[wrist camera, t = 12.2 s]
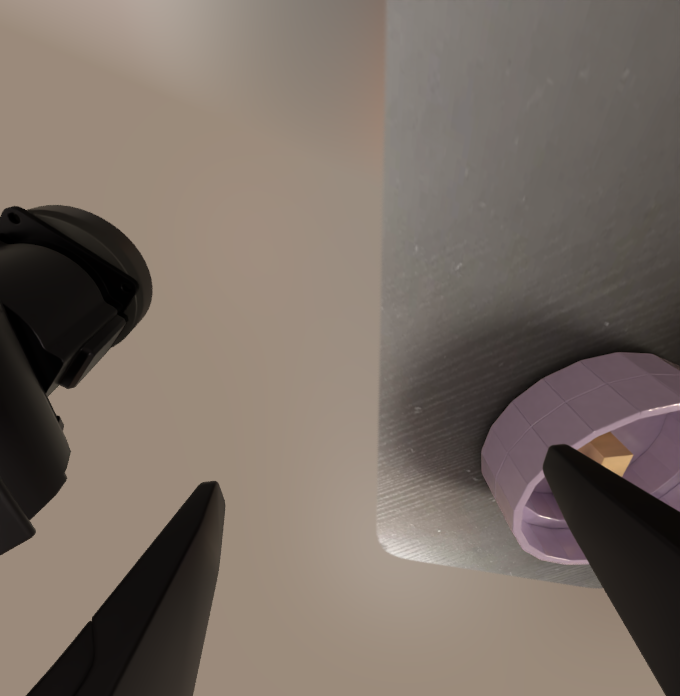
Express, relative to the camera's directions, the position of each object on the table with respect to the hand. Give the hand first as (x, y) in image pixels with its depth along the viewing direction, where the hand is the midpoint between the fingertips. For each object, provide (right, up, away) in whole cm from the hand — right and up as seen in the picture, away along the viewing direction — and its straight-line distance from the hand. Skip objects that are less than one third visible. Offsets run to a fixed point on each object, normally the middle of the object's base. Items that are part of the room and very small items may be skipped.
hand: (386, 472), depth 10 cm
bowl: (+17, -3, +17) cm, 24 cm away
